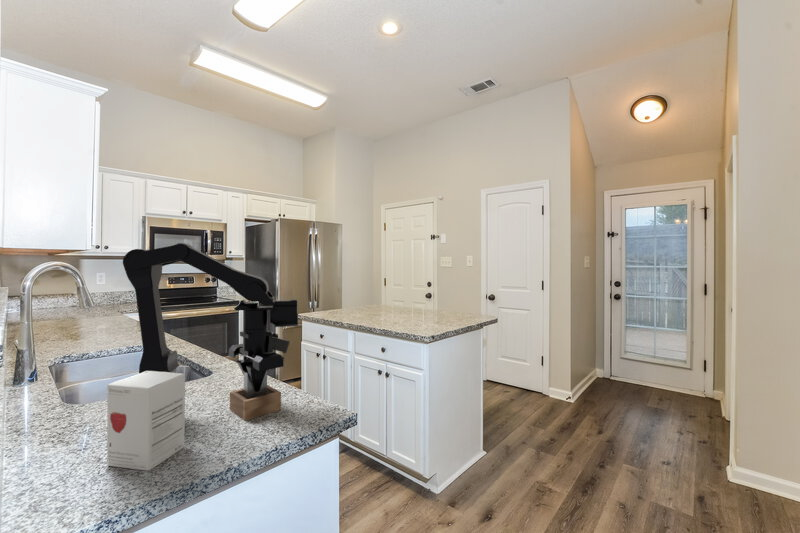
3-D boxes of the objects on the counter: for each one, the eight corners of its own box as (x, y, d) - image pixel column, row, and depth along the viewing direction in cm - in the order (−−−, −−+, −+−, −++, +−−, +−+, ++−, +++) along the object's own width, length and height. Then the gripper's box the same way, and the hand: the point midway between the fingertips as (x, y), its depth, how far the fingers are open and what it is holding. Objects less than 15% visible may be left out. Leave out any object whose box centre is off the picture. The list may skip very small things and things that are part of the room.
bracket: (249, 408, 89) (250, 374, 89) (241, 403, 92) (241, 370, 92) (269, 403, 92) (269, 370, 92) (260, 398, 96) (260, 366, 96)
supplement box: (104, 466, 66) (104, 384, 66) (146, 442, 75) (146, 369, 75) (148, 472, 65) (148, 387, 65) (186, 447, 74) (186, 372, 73)
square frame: (244, 421, 86) (244, 401, 86) (229, 409, 92) (229, 391, 92) (280, 410, 92) (280, 392, 92) (264, 400, 98) (264, 383, 98)
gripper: (304, 328, 91) (303, 391, 91) (268, 319, 104) (268, 374, 104) (260, 334, 83) (260, 403, 83) (228, 324, 96) (227, 383, 96)
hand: (255, 390), depth 92 cm, fingers closed on bracket
